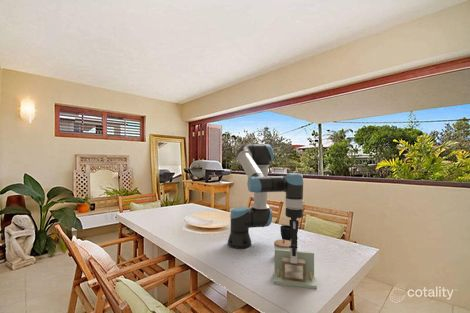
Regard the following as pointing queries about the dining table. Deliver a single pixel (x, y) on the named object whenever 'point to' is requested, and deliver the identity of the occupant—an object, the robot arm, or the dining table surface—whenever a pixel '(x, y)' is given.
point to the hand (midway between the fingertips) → (293, 257)
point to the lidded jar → (282, 244)
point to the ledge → (300, 255)
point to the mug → (285, 232)
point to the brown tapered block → (294, 270)
